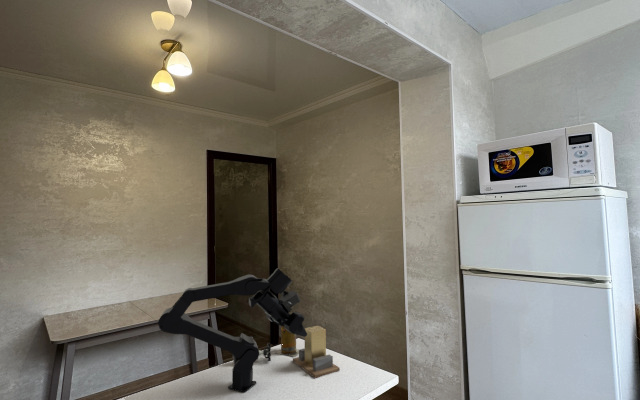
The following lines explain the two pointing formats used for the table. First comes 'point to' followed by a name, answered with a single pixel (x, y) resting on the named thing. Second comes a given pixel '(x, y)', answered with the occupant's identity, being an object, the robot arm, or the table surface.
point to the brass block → (314, 344)
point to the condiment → (288, 343)
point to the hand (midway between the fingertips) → (299, 331)
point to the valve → (266, 352)
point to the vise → (317, 364)
